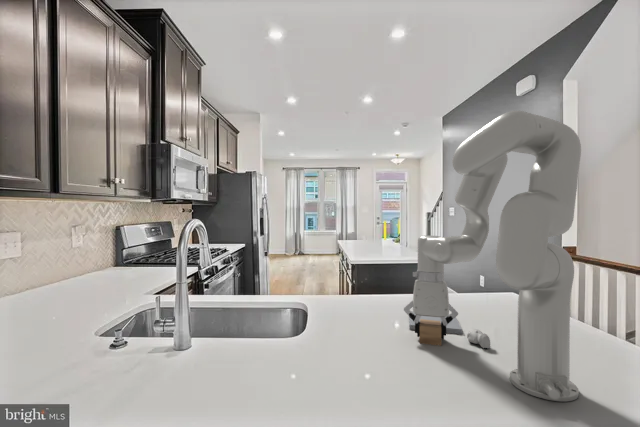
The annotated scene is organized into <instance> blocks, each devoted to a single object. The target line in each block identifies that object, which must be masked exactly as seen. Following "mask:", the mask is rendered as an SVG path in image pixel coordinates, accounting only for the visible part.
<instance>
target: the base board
mask: <svg viewBox="0 0 640 427" xmlns="http://www.w3.org/2000/svg"><path fill="white" fill-rule="evenodd" d="M410 311H411V310H410ZM411 312H412V313H413V314H414V315H416V314H415V313H414V312H413V310H412V311H411ZM450 314H451V313H449V315H450ZM408 317H409V316H408ZM445 318H446V317H445ZM420 319H424V320H435V321H442V320H441V318H440V317H431V316H421V317H420ZM420 319H419V322H420ZM408 322H409V323H408V325H409V326H408V328H409V329H408V330H412V331H413V330H414V331H415V323H414V321H413V320H412V319H411V318H410V317H409V318H408ZM446 334H458V335H459V334H460V335H462V334H463V329H462V327H461V325H460V323H459V321H458V319H457V316H456V317H455V318H454V319H453V320H452V321H451V322H450V323H448V325H447V326H446Z"/></svg>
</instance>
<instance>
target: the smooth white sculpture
mask: <svg viewBox="0 0 640 427" xmlns="http://www.w3.org/2000/svg"><path fill="white" fill-rule="evenodd" d="M466 338H467V341H468V342H469V343H472V344H476V345H480V348H482V349H484V348H487V349H489V348H490V347H491V340H490V336H489V335H488V334H486V333H484V332H482V331H481V330H479V329H471V330H470V331H468V332H467V333H466Z"/></svg>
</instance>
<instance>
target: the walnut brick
mask: <svg viewBox="0 0 640 427" xmlns="http://www.w3.org/2000/svg"><path fill="white" fill-rule="evenodd" d="M419 344H423V345H430V344H431V346H432V345H433V346H438V345H439V346H440V347H441V346H442V339H441V321H435V320H424V319H420V337H419ZM439 346H438V347H439Z"/></svg>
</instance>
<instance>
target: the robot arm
mask: <svg viewBox="0 0 640 427" xmlns="http://www.w3.org/2000/svg"><path fill="white" fill-rule="evenodd" d="M511 152H514V153H519V154H526V155H532V156H535V158H536V159H535V161H534V163H533V164H532V168H531V169H530V174H529V185H528V191H525V192H521V193H520V192H519V193H518V194H515V195H513V196H512V197H511V198H510V199H509V200H508V201H507V202H505V205H504V206H503V209H502V210H501V214H500V218H499V224H498V225H499V226H498V234H497V235H498V237H497V246H496V254H495V255H496V256H495V265H496V266H495V268H496V271H497V275H498V276H499V278H500V280H501V281H502V282H503V283H504V284H505V285H506V286H507V287H509V288H510V289H513V290H517V291H519V293H518V300H517V357H516V358H517V364H516V365H517V367H516V368H515V369H512V370H511V371H510V372H509V381H510V382H511V384H512V385H513V386H514V387H516V388H517V389H519V390H520V391H522V392H524V393H526V394H528V395H531V396H533V397H537V398H539V399H543V400H548V401H553V402H572V401H575V400H577V399H578V398H579V396H580V394H579V392H580V391H579V388H578V386H577V385H576V384H575V383H573V381H571V380H570V374H571V373H570V367H571V366H570V365H571V364H570V358H571V357H570V348H571V347H570V344H571V343H570V342H571V341H570V339H571V338H570V337H571V336H570V335H571V334H570V328H571V326H570V325H571V324H570V322H571V320H570V319H571V296H572V290H573V289H572V288H573V284H574V283H573V282H574V278H575V264H574V261H573V259H572V256H571V255H570V253H569V252H568V251H567V249H565V248H564V247H562V246H560V245H558V244H556V243H553V242H549V238H551V237H558V236H561V235H563V234H566V232H568V231H569V230H570V228H571V227H572V225H573V221H574V218H575V208H576V201H577V200H576V199H577V191H578V181H579V180H578V179H579V169H580V164H581V156H582V144H581V140H580V138H579V135H578V134H577V133H576V131H575V130H574V129H573V128H572V127H570V126H569V125H567V124H565V123H563V122H560V121H558V120H555V119H553V118H549V117H546V116H542V115H539V114H534V113H531V112H528V111H525V110H524V111H523V110H511V111H507V112H504V113H502V114H501V115H498V116H497V117H496V118H494V119H493V120H491V121H490V122H489V123H487V124H486V125H484V126H483V127H482V128H480V129H479V130H477V131H475V132H474V133H473V134H472V135H470V136H469V137H467V138H466V139H465V140H464V141H462V143H460V144H459V145H458V147H457V148H456V149H455V150H454V153H453V156H452V159H451V160H452V166H453V170H454V171H455V172H456V173H458V174H460V175H461V176H463V177H462V179H461V182H460V184H459V187H458V189H457V192H456V193H455V196H454V200H455V203H456V204H457V205H458V206H459V207H461V208H462V209H463V211H464V212H465V217H466V218H465V219H466V220H465V225H464V227H463V230H462V232H461V234H460V235H456V236H438V235H421V236H419V237H418V239H417V270H416V271H412V277H414V278H416V279H415V280H414V285H413V292H412V293H413V294H412V295H413V296H412V300H411V301H410V302H409V303H408V304H407V305H405V307H403V311H404V312H405V314H406V315H408V317H410V318H411V319H412V320H413V321H414V323H415V330H414V333H415V334H417V335H416V336H417V338H420V322H419V319H420V317H421V316H431V317H440V318H441V320H442V321H441V340H445V336H447V333H446V326H447V325H448V323H450V322H451V321H452V320H453V319H454V318H455V317H456V318H457V317H458V316H459V312H458V311H457V310H456V308H454V307H453V306H452V305H451V304H450V300H449V288H448V284H447V282H446V281H445V277H444V276H445V272H444V271H445V268H444V267H445V265H451V264H458V263H459V264H461V263H467V262H472V261H473V260H476V259H477V257H478V256H479V255H480V253H481V252H482V249H483V248H484V245H485V243H486V241H487V239H488V235H489V232H490V218H489V216H490V215H489V207H490V204H491V202H492V199H493V197H494V195H495V192H496V190H497V187H498V186H499V183H500V181H501V179H502V176H503V174H504V172H505V169H506V167H507V166H508V160H509V159H508V154H509V153H511ZM411 309H412V311H413V312H414V313H415V314H416V315H414V314H413V313H412V312H411ZM450 312H451V313H450ZM449 314H450V315H449ZM445 317H446V318H445Z"/></svg>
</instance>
